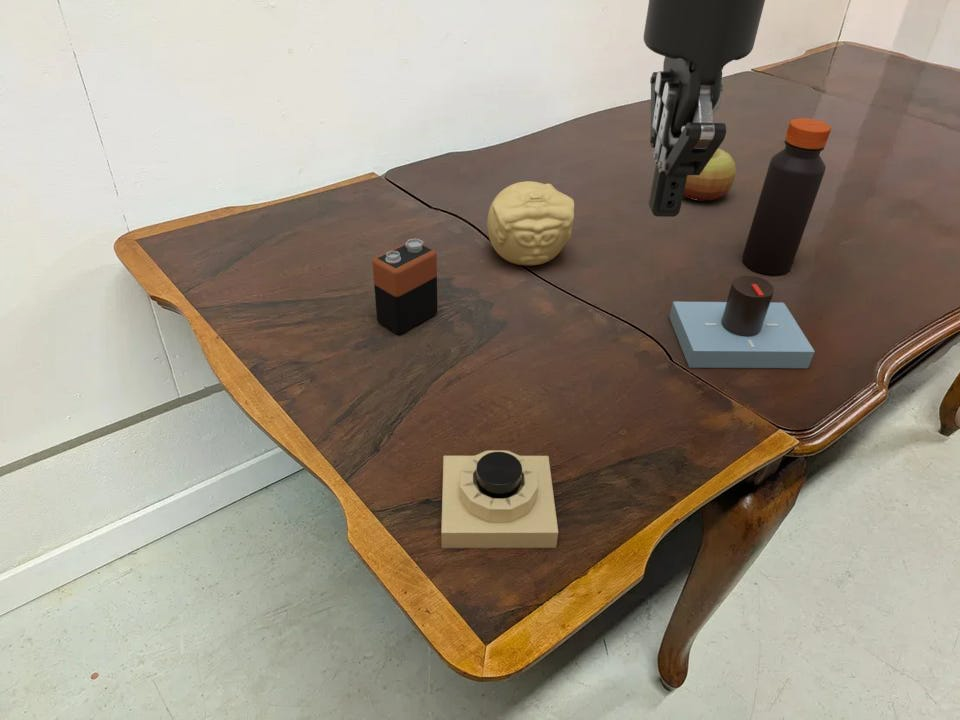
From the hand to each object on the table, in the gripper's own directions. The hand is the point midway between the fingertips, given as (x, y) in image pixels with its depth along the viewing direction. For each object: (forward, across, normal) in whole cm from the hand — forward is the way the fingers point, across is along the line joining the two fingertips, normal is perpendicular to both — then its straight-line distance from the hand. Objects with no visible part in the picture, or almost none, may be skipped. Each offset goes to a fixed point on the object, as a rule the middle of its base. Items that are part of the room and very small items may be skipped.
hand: (663, 212), depth 58 cm
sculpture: (+25, +36, +7) cm, 44 cm away
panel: (+25, +16, -17) cm, 34 cm away
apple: (+25, +56, -23) cm, 66 cm away
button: (+21, -10, +13) cm, 27 cm away
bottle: (+25, +34, -27) cm, 50 cm away
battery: (+25, +20, +23) cm, 40 cm away
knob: (+22, +16, -17) cm, 32 cm away
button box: (+25, -10, +13) cm, 30 cm away
